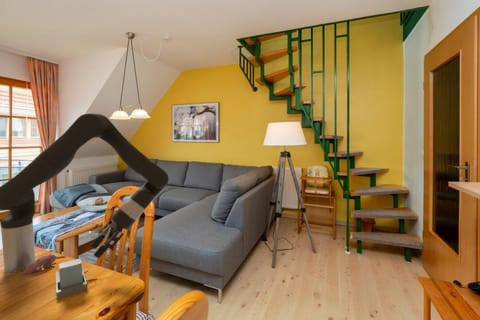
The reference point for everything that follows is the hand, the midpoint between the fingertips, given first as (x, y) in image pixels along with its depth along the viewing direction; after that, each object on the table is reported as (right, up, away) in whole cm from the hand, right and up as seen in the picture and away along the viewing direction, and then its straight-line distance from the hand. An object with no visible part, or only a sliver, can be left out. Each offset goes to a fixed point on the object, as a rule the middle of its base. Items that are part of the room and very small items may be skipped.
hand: (94, 251), depth 84 cm
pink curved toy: (-27, -11, +10) cm, 31 cm away
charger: (-5, -11, -3) cm, 13 cm away
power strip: (-8, -12, -1) cm, 14 cm away
